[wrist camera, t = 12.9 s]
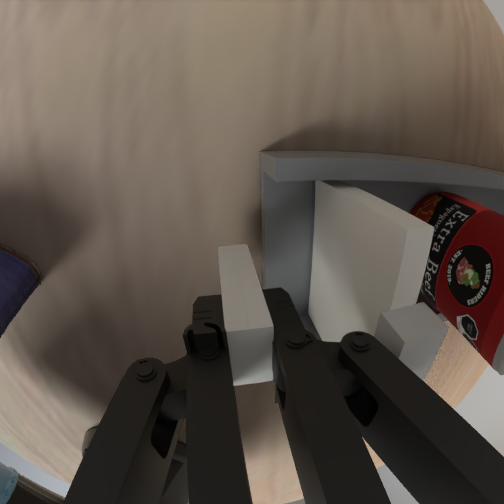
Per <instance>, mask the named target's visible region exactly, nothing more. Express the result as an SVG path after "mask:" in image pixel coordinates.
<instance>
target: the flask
mask: <svg viewBox="0 0 504 504" xmlns="http://www.w3.org/2000/svg"><path fill="white" fill-rule="evenodd" d="M40 279H41V274H40V272H39V269H38V267H37V266H36V265H35V264H34V263H33V262H32V261H30V260H29V259H28V258H26V257H25V256H23V255H21V254H19V253H17V252H15V251H14V250H11V249H9V248H7V247H5V246H1V245H0V338H1V335H2V334H3V333H4V332H5V330H6V329H7V327H8V325H9V323H10V322H11V321H12V319H13V318H14V317H15V316H16V314H17V313H18V312H19V310H20V309H21V307H22V305H23V304H24V303H25V302H26V300H27V299H28V298H29V296H30V295H31V294H32V293H33V292H34V290H35V289H36V288H37V287H38V285H41V282H40Z"/></svg>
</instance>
